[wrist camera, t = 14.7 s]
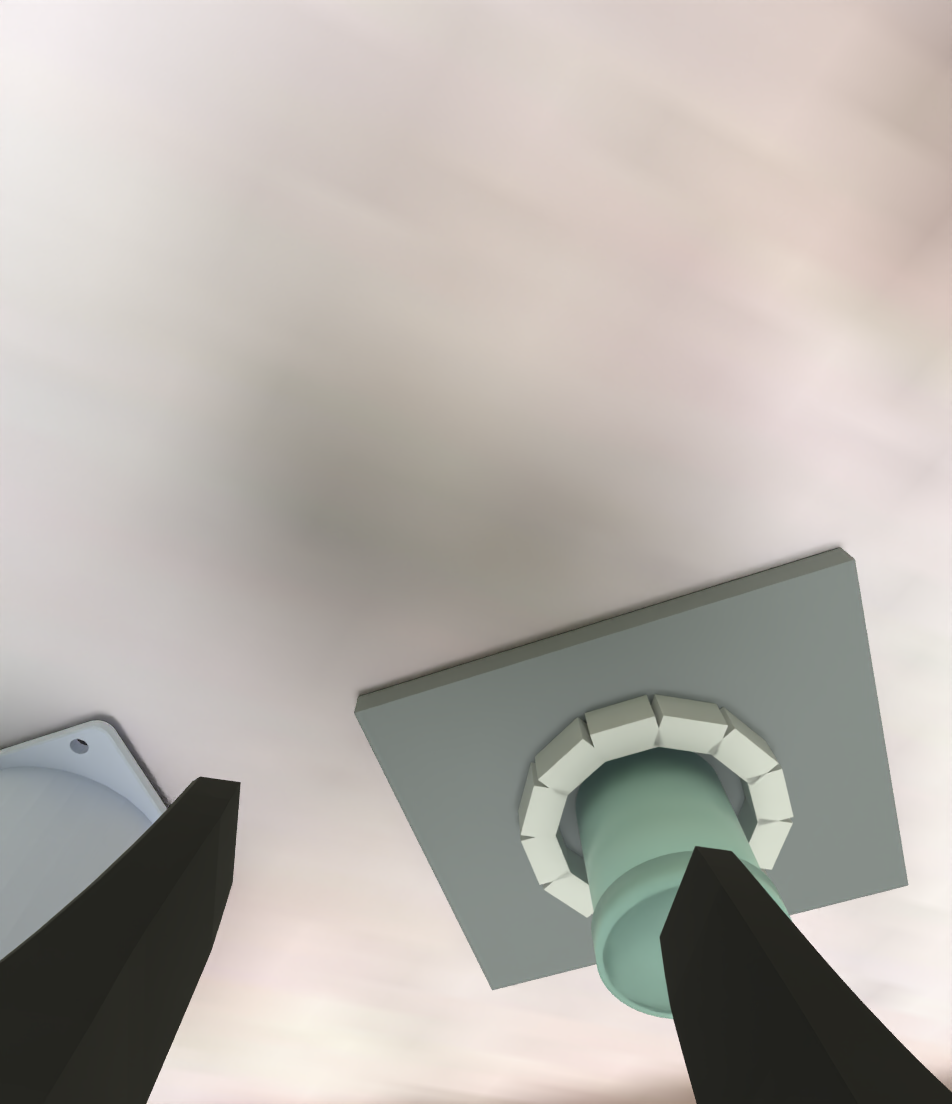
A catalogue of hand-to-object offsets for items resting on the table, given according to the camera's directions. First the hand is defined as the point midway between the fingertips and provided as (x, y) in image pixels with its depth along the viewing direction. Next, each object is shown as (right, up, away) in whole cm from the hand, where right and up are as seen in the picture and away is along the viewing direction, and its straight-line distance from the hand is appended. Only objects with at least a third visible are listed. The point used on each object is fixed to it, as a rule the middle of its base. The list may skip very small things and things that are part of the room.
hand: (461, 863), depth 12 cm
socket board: (+5, -2, +11) cm, 13 cm away
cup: (+5, -3, +11) cm, 12 cm away
